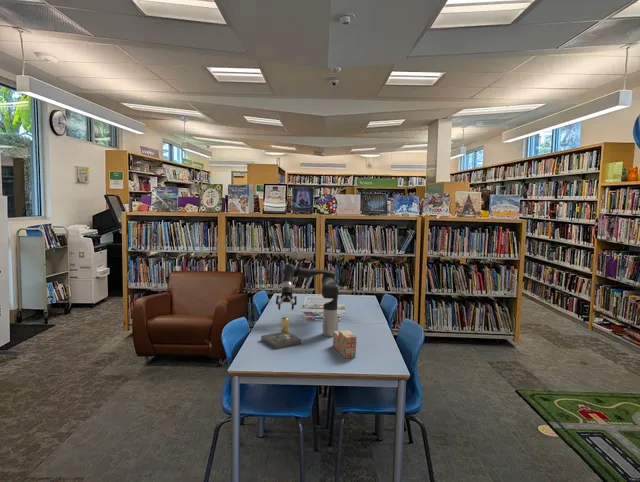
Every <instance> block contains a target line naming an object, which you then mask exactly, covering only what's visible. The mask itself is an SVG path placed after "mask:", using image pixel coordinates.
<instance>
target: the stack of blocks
mask: <svg viewBox="0 0 640 482" xmlns="http://www.w3.org/2000/svg"><path fill="white" fill-rule="evenodd" d="M357 338H358V337H357V336H356V335H355V333H353V332H351V331H350V330H348V329H345V330H338V331H333V336H332V347H334V349H336V351H338V353H340V355H341V356H342V357H343V358H344V359H353V358H357V357H356V354H357Z"/></svg>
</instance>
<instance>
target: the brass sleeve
mask: <svg viewBox="0 0 640 482" xmlns="http://www.w3.org/2000/svg"><path fill="white" fill-rule="evenodd" d="M280 320H281V321H280V332H285V331H287V332H289V331H290V330H289V329H290V328H289V327H290V326H289V325H290V318H289V317H287V316H286V317H285V316H283V317H281V319H280ZM289 333H290V332H289Z"/></svg>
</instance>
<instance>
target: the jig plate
mask: <svg viewBox="0 0 640 482" xmlns="http://www.w3.org/2000/svg"><path fill="white" fill-rule="evenodd" d="M260 341H261V342H263V343H265V344H266V345H268V346H269V347H271V348H273V349H275V350H278V349H282V348H283V349H284V348H288V347H293V346H298V345H302V341H303V340H302V338H300V337H298V336H296V335H294V334H292V333H290V332H287V331H285V332H281V331H280V332H274V333H269V334H263V335H260Z"/></svg>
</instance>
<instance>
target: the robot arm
mask: <svg viewBox="0 0 640 482" xmlns="http://www.w3.org/2000/svg"><path fill="white" fill-rule="evenodd" d="M282 274H283V278H282V286H281V295H276V299H275V305H277V309H278V310H279V311H280V310H281V305H282V304H283V303H289V304H291V311H293V310H294V309H295V306H296V305H297V304H298V303H297V298H298V297H297V295H294V296H293V288H294V285H293V284H294V278H304V279H308V278H309V279H310V278H313V277H314V276H316V275H317V276H319V275H322V278H321V283H322V284H321V286H322V287H321V296H322V297H323V298H324V299H327V300H328V299H331V301H328V302H326V303H323V307H322V308H323V310H322V313H323V314H322V336H325V337H333V331H339V320H338V303H339V302H338V300H339V299H338V298H339V285H338V284H336V281H335V278H336V272H335V271H333V270H330V269H329V270H328V269H317V268H315V269H314V268H312V269H311V268H305V267H297V268H295V266H294V265H293V264H292V263H288V264H286V265H285V267H284V269H283V270H282ZM293 300H294V301H293Z"/></svg>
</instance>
